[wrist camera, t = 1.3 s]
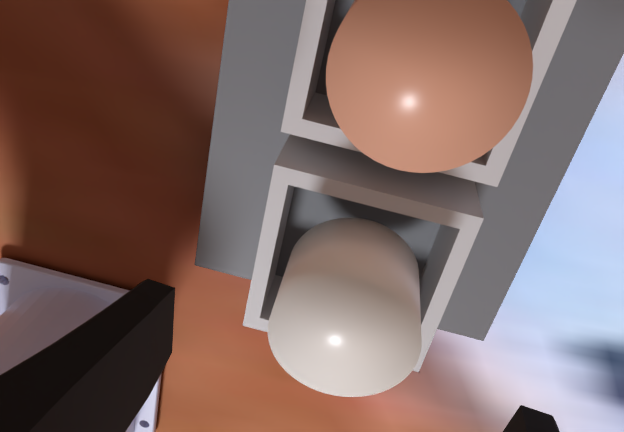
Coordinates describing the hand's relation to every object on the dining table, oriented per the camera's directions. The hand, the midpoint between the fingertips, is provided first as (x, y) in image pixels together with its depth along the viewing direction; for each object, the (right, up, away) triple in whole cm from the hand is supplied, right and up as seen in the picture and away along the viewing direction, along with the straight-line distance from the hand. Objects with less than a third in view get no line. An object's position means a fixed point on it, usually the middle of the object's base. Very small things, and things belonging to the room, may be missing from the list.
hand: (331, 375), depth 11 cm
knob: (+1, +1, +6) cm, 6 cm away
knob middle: (+2, +7, +2) cm, 8 cm away
